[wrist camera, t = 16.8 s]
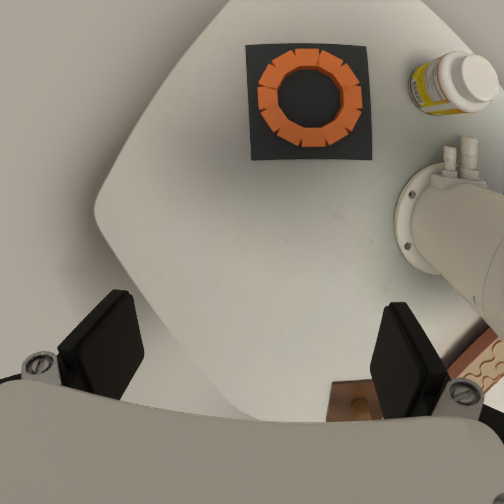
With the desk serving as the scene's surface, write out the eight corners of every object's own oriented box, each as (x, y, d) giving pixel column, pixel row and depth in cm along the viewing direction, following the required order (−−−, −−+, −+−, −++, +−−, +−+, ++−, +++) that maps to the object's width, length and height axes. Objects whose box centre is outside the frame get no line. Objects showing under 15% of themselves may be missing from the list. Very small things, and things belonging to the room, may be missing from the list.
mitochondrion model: (434, 409, 40) (442, 430, 35) (403, 388, 39) (412, 412, 34) (533, 311, 32) (550, 327, 28) (515, 276, 31) (534, 292, 26)
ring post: (332, 382, 39) (336, 414, 33) (394, 377, 38) (404, 407, 32) (325, 421, 42) (328, 452, 36) (381, 417, 41) (388, 445, 35)
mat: (245, 46, 26) (245, 45, 26) (365, 47, 25) (365, 46, 24) (251, 160, 30) (251, 160, 30) (371, 160, 29) (371, 160, 29)
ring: (256, 55, 26) (254, 50, 24) (353, 54, 25) (357, 50, 23) (262, 148, 29) (261, 148, 28) (359, 146, 28) (364, 147, 27)
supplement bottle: (458, 90, 25) (514, 81, 15) (436, 126, 27) (491, 126, 17) (421, 56, 24) (469, 31, 15) (397, 91, 26) (443, 75, 16)
